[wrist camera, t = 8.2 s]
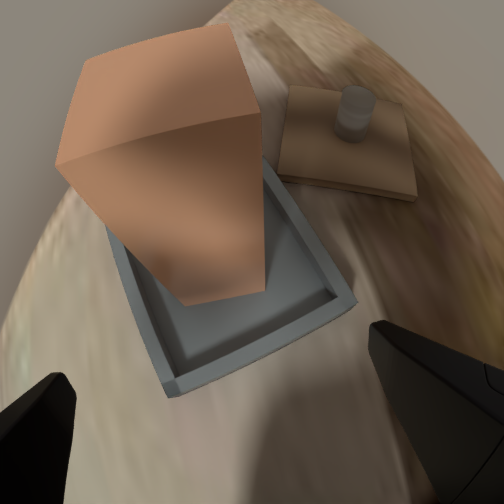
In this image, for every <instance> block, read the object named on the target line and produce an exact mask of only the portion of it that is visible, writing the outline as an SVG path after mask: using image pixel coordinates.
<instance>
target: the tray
mask: <svg viewBox="0 0 504 504" xmlns="http://www.w3.org/2000/svg"><path fill="white" fill-rule="evenodd" d="M262 165H263V203H264V248H265V291H261V292H257V293H252V294H247V295H242V296H237V297H232V298H227V299H222V300H216V301H211V302H206V303H201V304H195V305H190V306H184V305H183V304H182V303H181V302H180V301H179V300H178V299H177V298H176V297H175V296H174V295H173V294H172V293H171V292H170V291H169V290H167V289H166V288H165V287H164V286H163V285H162V284H161V283H160V282H159V281H158V280H157V279H156V278H155V277H154V276H153V275H152V274H151V273H150V271H149V270H148V269H147V268H146V267H145V266H144V265H143V264H142V263H141V262H140V261H139V260H138V259H137V258H136V257H135V256H134V255H133V254H132V253H131V252H130V251H129V250H128V249H127V248H126V247H125V246H124V244H123V243H122V242H121V241H120V240H119V239H118V238H117V237H116V236H115V235H114V234H113V233H112V232H111V230H110V229H109V228H108V227H107V226H106V225H105V227H106V231H107V234H108V238H109V241H110V245H111V248H112V252H113V255H114V258H115V262H116V265H117V268H118V271H119V274H120V277H121V281H122V284H123V287H124V290H125V293H126V295H127V298H128V301H129V304H130V307H131V310H132V312H133V315H134V318H135V321H136V323H137V326H138V329H139V331H140V334H141V336H142V339H143V342H144V344H145V347H146V349H147V351H148V354H149V356H150V359H151V361H152V364H153V366H154V368H155V371H156V373H157V375H158V377H159V380H160V382H161V384H162V386H163V389H164V391H165V393H166V395H167V397H168V398H173V397H179V396H181V395H183V394H186V393H188V392H190V391H193V390H195V389H197V388H200V387H202V386H204V385H206V384H209V383H211V382H213V381H215V380H218V379H220V378H222V377H224V376H226V375H228V374H231V373H233V372H235V371H237V370H239V369H241V368H243V367H245V366H247V365H249V364H251V363H253V362H255V361H257V360H259V359H261V358H263V357H265V356H267V355H269V354H271V353H273V352H275V351H277V350H279V349H281V348H283V347H285V346H287V345H289V344H291V343H293V342H294V341H296V340H298V339H300V338H302V337H304V336H306V335H307V334H309V333H311V332H313V331H315V330H316V329H318V328H320V327H322V326H324V325H325V324H327V323H329V322H331V321H332V320H334V319H336V318H338V317H339V316H341V315H343V314H345V313H346V312H348V311H349V310H351V309H352V308H353V307H354V306H355V305H356V304H357V303H358V301H357V299H356V298H355V296H354V294H353V293H352V291H351V289H350V288H349V286H348V284H347V283H346V281H345V280H344V278H343V276H342V275H341V273H340V271H339V270H338V268H337V267H336V265H335V263H334V262H333V260H332V258H331V257H330V255H329V254H328V252H327V251H326V249H325V247H324V246H323V244H322V243H321V241H320V239H319V238H318V236H317V235H316V233H315V232H314V230H313V229H312V227H311V226H310V224H309V222H308V221H307V219H306V218H305V216H304V215H303V213H302V212H301V210H300V209H299V207H298V206H297V204H296V203H295V201H294V200H293V198H292V197H291V195H290V194H289V192H288V191H287V189H286V188H285V186H284V185H283V184H282V182H281V181H280V179H279V178H278V176H277V175H276V173H275V172H274V170H273V169H272V168H271V166H270V165H269V163H268V162H267V160H266V159H265V158H264V156H263V155H262Z"/></svg>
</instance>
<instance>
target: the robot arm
mask: <svg viewBox="0 0 504 504" xmlns="http://www.w3.org/2000/svg"><path fill="white" fill-rule="evenodd" d="M368 350H369V354H370V357H371V359H372V362H373V364H374V366H375V369H376V371H377V374H378V377H379V379H380V382H381V384H382V387H383V389H384V392H385V394H386V397H387V399H388V401H389V403H390V404H391V406H392V408H393V410H394V412H395V414H396V416H397V418H398V419H399V421H400V423H401V425H402V427H403V429H404V431H405V433H406V435H407V437H408V439H409V441H410V443H411V444H412V446H413V448H414V450H415V452H416V454H417V456H418V458H419V460H420V462H421V464H422V466H423V468H424V470H425V472H426V474H427V476H428V478H429V480H430V482H431V485H432V487H433V489H434V491H435V493H436V495H437V497H438V499H439V501H440V503H441V504H504V371H503V370H501V369H498V368H496V367H493V366H491V365H489V364H486V363H484V364H483V362H481V361H479V360H477V359H474V358H472V357H470V356H467V355H465V354H462V353H460V352H458V351H455V350H453V349H451V348H448V347H446V346H444V345H441V344H439V343H437V342H434V341H432V340H430V339H427V338H425V337H423V336H420V335H418V334H416V333H413V332H411V331H409V330H407V329H404V328H402V327H400V326H397V325H395V324H393V323H390V322H388V321H386V320H380V321H377V322H373V323H371V324H370V327H369V341H368ZM76 400H77V397H76V392H75V390H74V389H73V387H72V385H71V384H70V382H69V381H68V379H67V377H66V376H65V374H63V373H61V372H53V373H50V374H49V375H48V376H46V377H45V378H44V379H42V380H41V381H40V382H39V383H37V384H36V385H35V386H33V387H32V388H31V389H30V390H28V391H27V392H26V393H24V394H23V395H22V396H21V397H19V398H18V399H17V400H16V401H14V402H13V403H12V404H10V405H9V406H8V407H7V408H5V409H4V410H3V411H2V412H0V504H63V502H64V493H65V485H66V478H67V471H68V464H69V458H70V452H71V446H72V439H73V429H74V418H75V409H76Z"/></svg>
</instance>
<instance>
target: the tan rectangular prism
mask: <svg viewBox="0 0 504 504" xmlns="http://www.w3.org/2000/svg"><path fill="white" fill-rule="evenodd" d="M55 167H56V168H57V169H58V170H59V172H60V173H61V174H62V175H63V176H64V178H65V179H66V180H67V181H68V182H69V184H70V185H71V186H72V187H73V188H74V190H75V191H76V192H77V193H78V194H79V195H80V197H81V198H82V199H83V200H84V201H85V202H86V204H87V205H88V206H89V207H90V208H91V209H92V210H93V212H94V213H95V214H96V215H97V216H98V217H99V218H100V219H101V220H102V222H103V223H104V224H105V225H106V226H107V227H108V228H109V229H110V230H111V232H112V233H113V234H114V235H115V236H116V237H117V238H118V239H119V240H120V241H121V242H122V243H123V244H124V246H125V247H126V248H127V249H128V250H129V251H130V252H131V253H132V254H133V255H134V256H135V257H136V258H137V259H138V260H139V261H140V262H141V263H142V264H143V265H144V266H145V267H146V268H147V269H148V270H149V271H150V273H151V274H152V275H153V276H154V277H155V278H156V279H157V280H158V281H159V282H160V283H161V284H162V285H163V286H164V287H165V288H166V289H167V290H169V291H170V292H171V293H172V294H173V295H174V296H175V297H176V298H177V299H178V300H179V301H180V302H181V303H182V304H183V305H184V306H190V305H195V304H201V303H206V302H211V301H216V300H222V299H227V298H232V297H237V296H242V295H247V294H252V293H257V292H261V291H265V248H264V203H263V165H262V131H261V111H260V108H259V106H258V103H257V100H256V97H255V94H254V91H253V88H252V86H251V83H250V80H249V77H248V75H247V72H246V69H245V66H244V64H243V61H242V58H241V56H240V53H239V50H238V48H237V45H236V42H235V40H234V37H233V34H232V32H231V29H230V27H229V24H228V23H224V24H217V25H211V26H206V27H201V28H195V29H190V30H185V31H181V32H176V33H172V34H168V35H164V36H160V37H156V38H152V39H149V40H145V41H142V42H138V43H135V44H132V45H128V46H125V47H122V48H119V49H116V50H113V51H110V52H107V53H104V54H101V55H99V56H96V57H93V58H91V59H88V60H86V61H85V64H84V66H83V69H82V72H81V75H80V77H79V80H78V83H77V86H76V89H75V92H74V95H73V98H72V102H71V105H70V108H69V112H68V115H67V119H66V122H65V126H64V130H63V133H62V138H61V141H60V146H59V150H58V154H57V159H56V163H55Z"/></svg>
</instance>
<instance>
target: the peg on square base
mask: <svg viewBox="0 0 504 504" xmlns="http://www.w3.org/2000/svg"><path fill="white" fill-rule="evenodd" d="M277 176H278V178H279V179H280V181H284V182H292V183H299V184H307V185H314V186H321V187H328V188H335V189H342V190H348V191H354V192H360V193H366V194H372V195H378V196H384V197H389V198H395V199H400V200H405V201H410V202H414V201H415V200H416V198H417V197H418V193H417V185H416V178H415V171H414V165H413V159H412V153H411V147H410V142H409V136H408V131H407V127H406V122H405V117H404V113H403V108H402V104H399V103H395V102H391V101H387V100H382V99H377V98H376V97H375V96H374V94H373V93H372V92H371V91H369V90H368V89H366V88H364V87H361V86H356V85H351V86H347V87H345V88H344V89H343V90H342V92H340V91H334V90H327V89H320V88H313V87H305V86H296V85H290V89H289V96H288V102H287V109H286V116H285V123H284V130H283V136H282V143H281V150H280V156H279V163H278V169H277Z"/></svg>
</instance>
